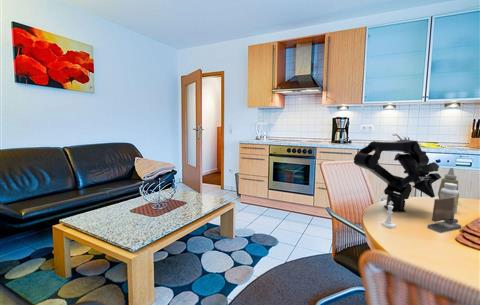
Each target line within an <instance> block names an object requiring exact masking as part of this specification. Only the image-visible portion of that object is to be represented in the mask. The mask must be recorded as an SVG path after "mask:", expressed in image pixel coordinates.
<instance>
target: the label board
mask: <svg viewBox="0 0 480 305" xmlns="http://www.w3.org/2000/svg"><path fill="white" fill-rule="evenodd" d="M458 223H459V219H457V218H454V219H448V220H442V221H438V222H434V223H429V224H427V229H429V230H432V231H435V232H438V233H440V234H441V233H445V232H449V231H451V232H452V231H455V230H459V229H461V228H462V225H461V224H458Z"/></svg>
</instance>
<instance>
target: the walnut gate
mask: <svg viewBox="0 0 480 305" xmlns="http://www.w3.org/2000/svg"><path fill="white" fill-rule="evenodd" d="M456 201H457V197H455V196H451V197H447V198H440V199H439V198H435V199H434V202H433V203H434V204H433V208H432V217H431V221H432V222H434V223H438V222H443V220H448V219H455V213H456V212H455V208H456Z"/></svg>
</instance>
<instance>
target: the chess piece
mask: <svg viewBox="0 0 480 305" xmlns="http://www.w3.org/2000/svg"><path fill="white" fill-rule="evenodd" d="M388 204H390V205H388V209H387V210H386V213H387V217H386V220H385V221H384V220H383V221H381V223H380V224H381V226H383V227H385V228H388V229H396V224H395V223H394V222H393V221H392V214H394V211H392V209H393V206H392V204H393V203H392V201H390V203H388Z"/></svg>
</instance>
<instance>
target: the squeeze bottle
mask: <svg viewBox="0 0 480 305" xmlns="http://www.w3.org/2000/svg"><path fill="white" fill-rule="evenodd" d="M440 180H441V181H440V185H439V188H438V192H437V196H438V199H440V192H441V189H442V188H444V187H445V186H444V183H453V184H457V188H456V190H458V191H459V181H458V180H457V175H455V173H454V167H450V168H449V169H448V172H447V173H446V174H444V178H441V179H440Z"/></svg>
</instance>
